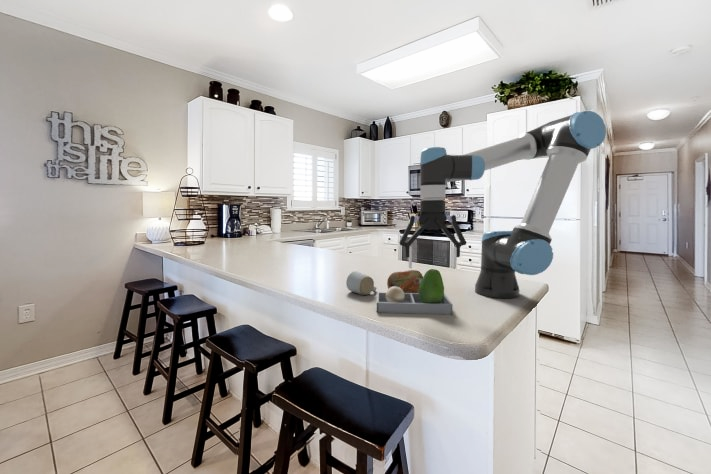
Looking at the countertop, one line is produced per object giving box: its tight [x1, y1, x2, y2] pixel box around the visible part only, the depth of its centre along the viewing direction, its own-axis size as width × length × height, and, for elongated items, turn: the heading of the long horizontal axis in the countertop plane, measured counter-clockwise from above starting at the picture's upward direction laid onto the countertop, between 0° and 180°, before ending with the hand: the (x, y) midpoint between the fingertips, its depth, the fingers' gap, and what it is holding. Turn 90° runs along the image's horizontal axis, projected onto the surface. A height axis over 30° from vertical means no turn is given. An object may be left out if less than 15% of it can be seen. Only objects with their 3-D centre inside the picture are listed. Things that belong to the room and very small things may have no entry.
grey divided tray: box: [376, 291, 453, 315], centre depth 105 cm, size 23×12×3 cm, turn 86°
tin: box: [386, 269, 424, 293], centre depth 121 cm, size 15×3×8 cm, turn 117°
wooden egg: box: [385, 286, 405, 303], centre depth 105 cm, size 6×6×6 cm
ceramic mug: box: [345, 270, 377, 296], centre depth 121 cm, size 11×8×8 cm
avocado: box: [418, 268, 445, 304], centre depth 104 cm, size 8×8×12 cm
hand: (432, 267), depth 103 cm, fingers open, 13 cm apart
